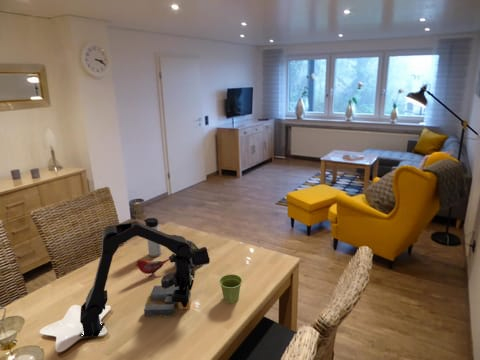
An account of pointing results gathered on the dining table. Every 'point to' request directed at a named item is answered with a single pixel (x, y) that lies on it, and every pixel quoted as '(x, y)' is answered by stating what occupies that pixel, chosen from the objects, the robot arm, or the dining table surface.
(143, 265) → the decorative bird figurine
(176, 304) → the plug
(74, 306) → the dining table surface
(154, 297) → the grey rectangular blocks
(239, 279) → the plant pot
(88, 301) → the robot arm
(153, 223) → the travel mug
